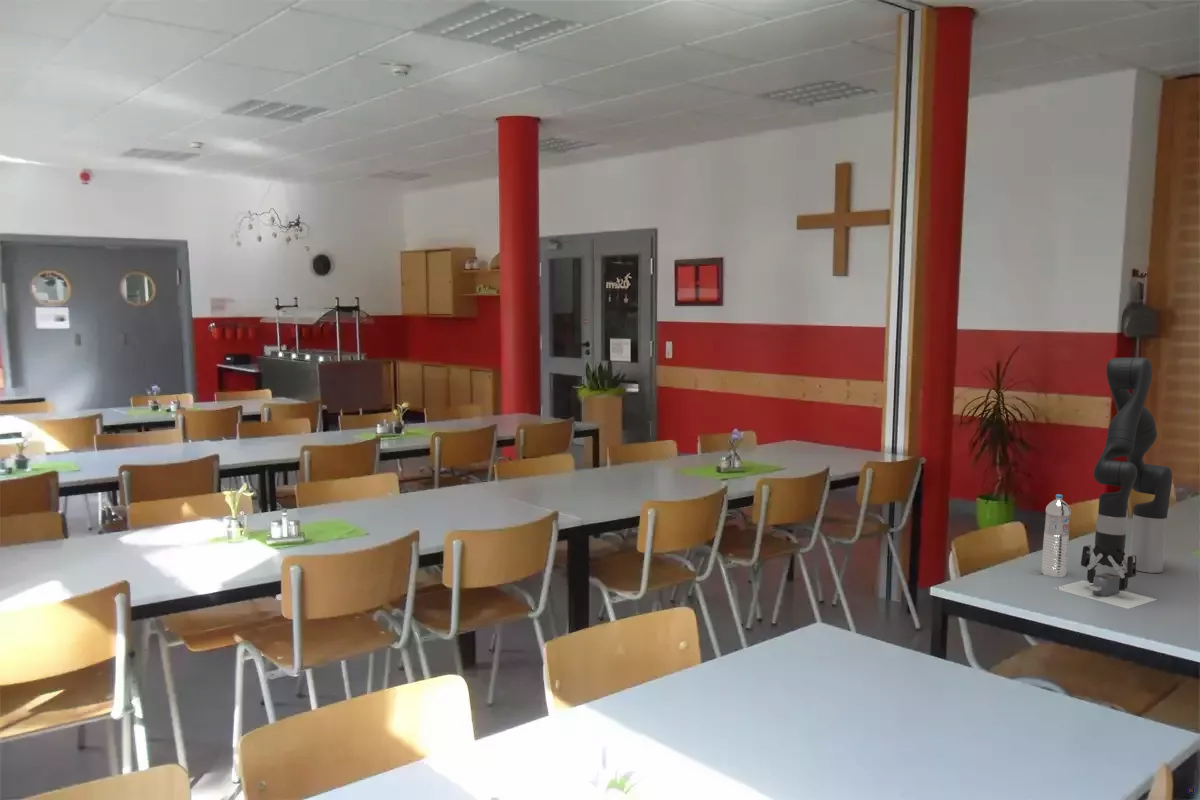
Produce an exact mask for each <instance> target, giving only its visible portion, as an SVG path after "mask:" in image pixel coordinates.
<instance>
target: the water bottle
mask: <svg viewBox="0 0 1200 800" xmlns="http://www.w3.org/2000/svg"><path fill="white" fill-rule="evenodd" d="M1063 497H1064V496H1063V494H1058V493H1057V494H1056V495H1055V499H1053V500H1052V501H1050V502H1049V503H1048V504H1047V505H1046V507H1045V519H1044V520H1045V521H1044V522H1045V523H1044V532H1043V541H1042V543H1043V544H1042V556H1041V561H1042V562H1041V574H1042V573H1043V574H1044V575H1045V576H1049V577H1056V578H1057V577H1058V578H1061V577H1066V575H1067V568H1068V567H1067V566H1068V565H1067V564H1068V555H1069V553H1068V552H1069V543H1070V542H1069V541H1070V540H1069V539H1070V522H1071V521H1070V520H1071V513H1072V509H1071V508H1070V506H1069V505H1068V503H1067V502H1066V501H1064V500H1063ZM1043 574H1042V575H1043Z"/></svg>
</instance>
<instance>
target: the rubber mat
mask: <svg viewBox="0 0 1200 800" xmlns="http://www.w3.org/2000/svg"><path fill="white" fill-rule="evenodd" d="M1090 585H1093V583H1089V580H1084V579H1083V580H1082V579H1081V580H1077V581H1075V582H1071V583H1067V584H1064V585H1060V586H1058V587H1059V590H1058V591H1060V592H1061V591H1062V592H1065V593H1069V594H1071V593H1072V595H1076V596H1080V597H1083V598H1085V599H1086V598H1087V599H1089V600H1090V599H1091V600H1094V601H1098V602H1101V603H1104V604H1109V605H1112V606H1115V607H1120V608H1123V609H1126V610H1129V609H1132V608H1135V607H1139V606H1141V605H1146V604H1147V603H1151V602H1155V601H1157V598H1153V597H1149V596H1146V595H1141V594H1137V593H1134V592H1131V591H1126V590H1124V591H1120V593H1119V594H1115V595H1112V596H1109V597H1099V596H1095V595H1093V590H1091V589H1089V586H1090ZM1061 586H1062V587H1061ZM1063 587H1064V588H1063ZM1053 588H1054V589H1053V590H1057V588H1056V587H1053ZM1055 588H1056V589H1055Z"/></svg>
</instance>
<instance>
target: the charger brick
mask: <svg viewBox="0 0 1200 800" xmlns="http://www.w3.org/2000/svg"><path fill="white" fill-rule="evenodd" d="M1120 578H1121V577H1120V575H1119V573H1117V572H1116V573H1115V572H1105V573H1100V574H1095V576H1094V581H1093V585H1090V586H1089V589H1091V590H1093V595H1095V596H1099V597H1109V596H1112V595H1115V594H1119V593H1120V590H1119V580H1120Z"/></svg>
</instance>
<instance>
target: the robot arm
mask: <svg viewBox="0 0 1200 800" xmlns="http://www.w3.org/2000/svg"><path fill="white" fill-rule="evenodd" d="M1105 370H1106V371H1105V372H1106V378H1107V379H1106V380H1107V383H1108V385H1109V389H1110V393H1111V395H1112V398H1113V401H1114V404H1115V408H1116V412H1117V413H1116V414H1115V415H1114V417H1113V418H1112V419H1111V420H1110V422H1109V424H1108V429H1107V434H1106V435H1107V436H1106V439H1105V440H1106V441H1105V445H1104V447H1103V451H1102V453H1101V455H1100V457H1099V458H1098V459H1097V463H1096V464H1095V467H1094V469H1093V477H1094V480H1095V481H1096V482H1097V483H1099V484H1101V485H1106V486H1107V485H1109V486H1115V487H1120V490H1119V491H1115V492H1105V493H1101V494H1100V496H1099V498H1098V499H1099V500H1098V509H1097V510H1098V511H1097V517H1096V524H1095V536H1094V538H1095V539H1094V547H1093V546H1092V545H1090V544H1089V545H1088V544H1087V545H1084V546H1083V547H1082V553H1081V561H1080V565H1081V567H1085V568H1086V569H1087V575H1086V579H1087V580H1086V581H1088V582H1089V583H1093V581H1094V576H1096V575H1097V574H1096V573H1097V572H1096V570H1097V569H1096V568H1097V567H1098V566H1099V565H1100V566H1107V567H1109V568H1114V570H1115V571H1116V573H1117V574H1119V575H1120V577H1121V578H1120V580H1119V590H1120V591H1126V589H1128V586H1129V585H1128V583H1129V578H1133V577H1136V576H1137V571H1138V572H1142V573H1150V574H1157V573H1158V574H1160V573H1163V570H1164V559H1165V548H1166V547H1165V545H1166V537H1167V525H1168V524H1167V523H1168V513H1169V507H1170V498H1171V492H1172V484H1173V472H1172V470H1171V468H1170V467H1169V466H1165V465H1157V464H1151V463H1150V464H1148V463H1145V462H1144V456H1145V454H1147V452H1148V451H1149V450H1150V449H1151V447H1152V446H1153V445H1154V443H1155V441H1156V439H1157V438H1158V437H1157V436H1158V431H1157V427H1156V422H1155V418H1154V417H1155V416H1153V414H1152V413H1151V411H1150V410H1149V409H1148V408H1147V406H1145V403H1146V401H1147V397H1148V394H1149V391H1150V387H1151V383H1152V378H1153V366H1152V363H1151V361H1150V359H1149V358H1147V357H1114V358H1111V359H1110V360H1109V361H1108V362H1107V365H1106V369H1105ZM1130 390H1133V391H1132V394H1131V392H1130ZM1121 457H1126V460H1127V461H1122V460H1114V459H1116V458H1121ZM1132 490H1133V491H1134V492H1137V493H1140V494H1147V495H1154V498H1153V499H1152V500H1151V501H1149V502H1142V503H1136V504H1134V506H1133V508H1132V509H1133V511H1132V525H1131V533H1130V534H1131V536H1130V546H1129V547H1130V548H1129V555H1128V554H1126V553H1125V550H1126V549H1125V548H1126V539H1127V526H1128V525H1127V524H1128V522H1127V512H1128V504H1129V503H1128V502H1129V498H1130V494H1131V492H1132ZM1092 554H1094V556H1095V558H1093V559H1092V560H1091V555H1092ZM1124 560H1125V563H1126V565H1127V567H1126V565H1125V564H1124Z"/></svg>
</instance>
